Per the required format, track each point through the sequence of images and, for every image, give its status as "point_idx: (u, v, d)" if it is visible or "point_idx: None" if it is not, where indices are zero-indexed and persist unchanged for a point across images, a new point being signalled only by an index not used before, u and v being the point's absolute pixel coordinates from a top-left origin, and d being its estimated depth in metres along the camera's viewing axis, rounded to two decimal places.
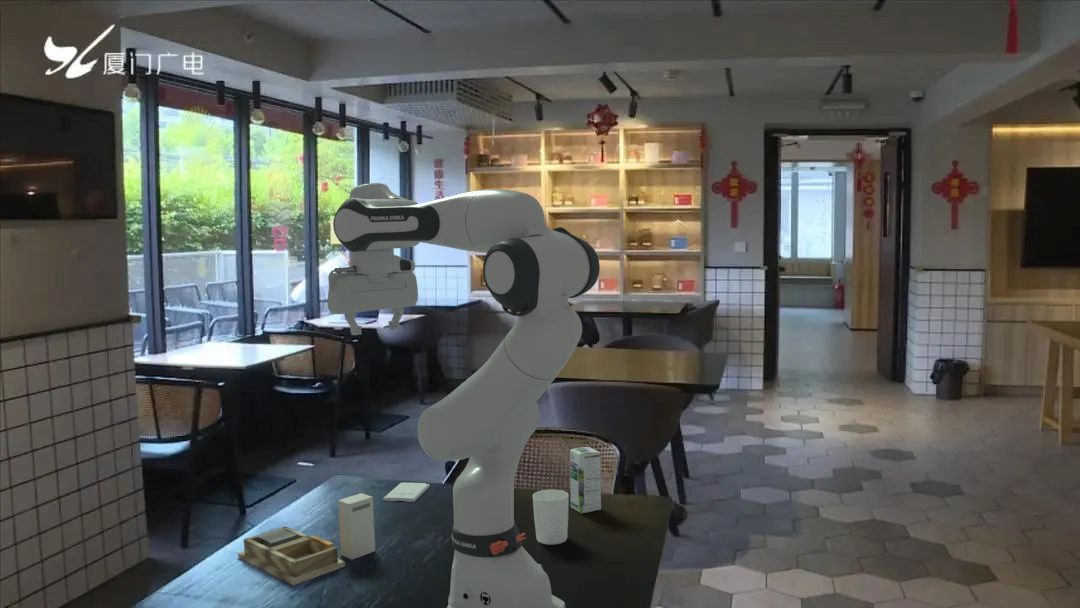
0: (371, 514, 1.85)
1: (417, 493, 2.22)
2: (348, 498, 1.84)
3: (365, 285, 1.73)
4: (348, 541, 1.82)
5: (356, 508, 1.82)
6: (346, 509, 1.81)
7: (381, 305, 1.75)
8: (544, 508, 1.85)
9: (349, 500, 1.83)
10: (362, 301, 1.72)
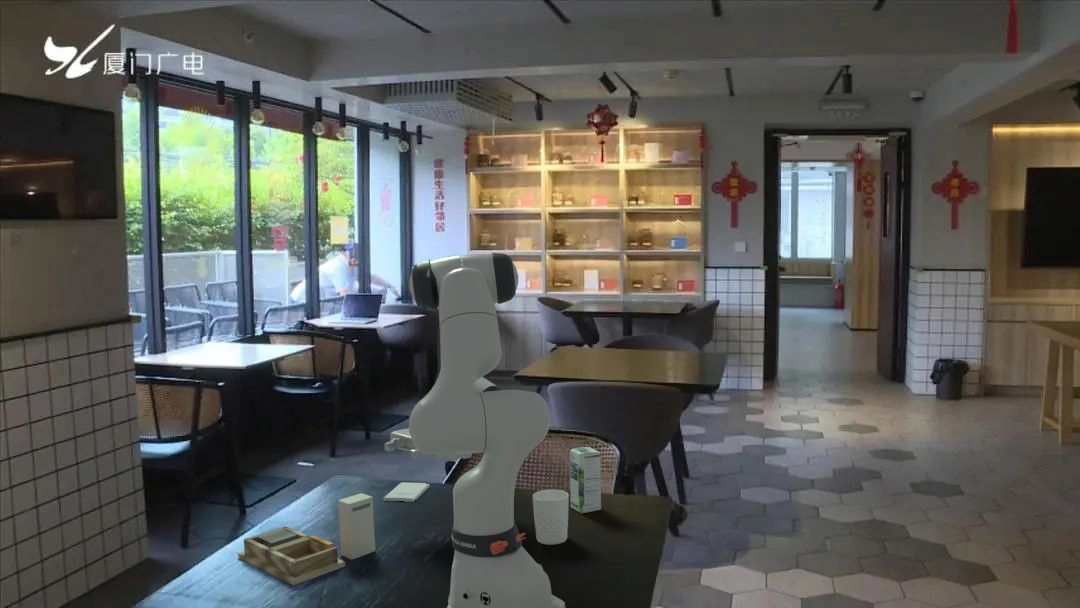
0: (371, 514, 1.85)
1: (417, 493, 2.22)
2: (348, 498, 1.84)
3: None
4: (348, 541, 1.82)
5: (356, 508, 1.82)
6: (346, 509, 1.81)
7: None
8: (544, 508, 1.85)
9: (349, 500, 1.83)
10: None
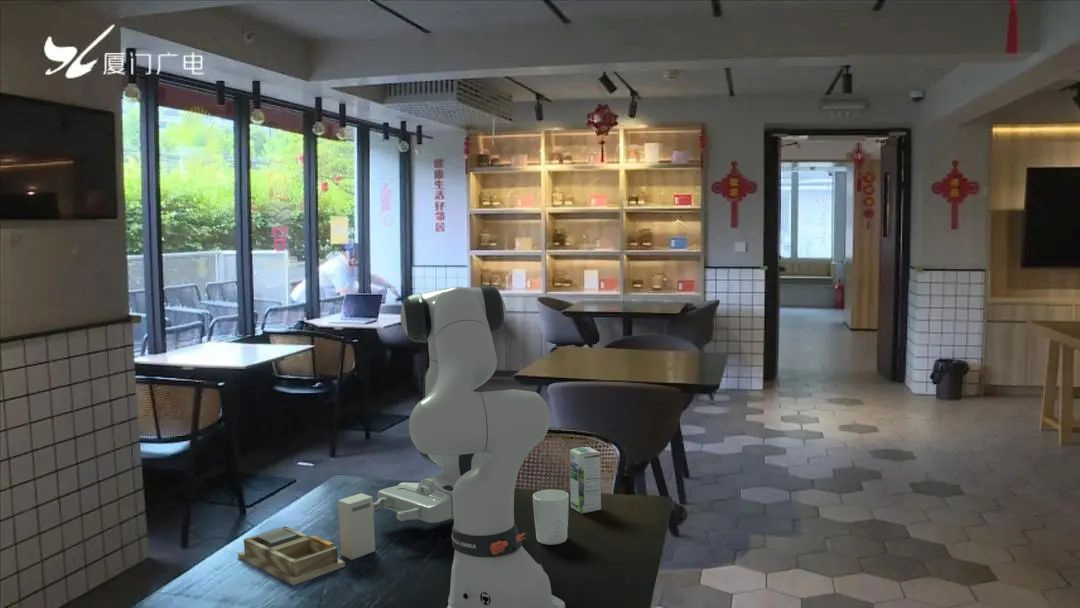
0: (371, 514, 1.85)
1: None
2: (348, 498, 1.84)
3: (411, 492, 1.99)
4: (348, 541, 1.82)
5: (356, 508, 1.82)
6: (346, 509, 1.81)
7: (406, 498, 1.93)
8: (544, 508, 1.85)
9: (349, 500, 1.83)
10: (398, 493, 1.97)
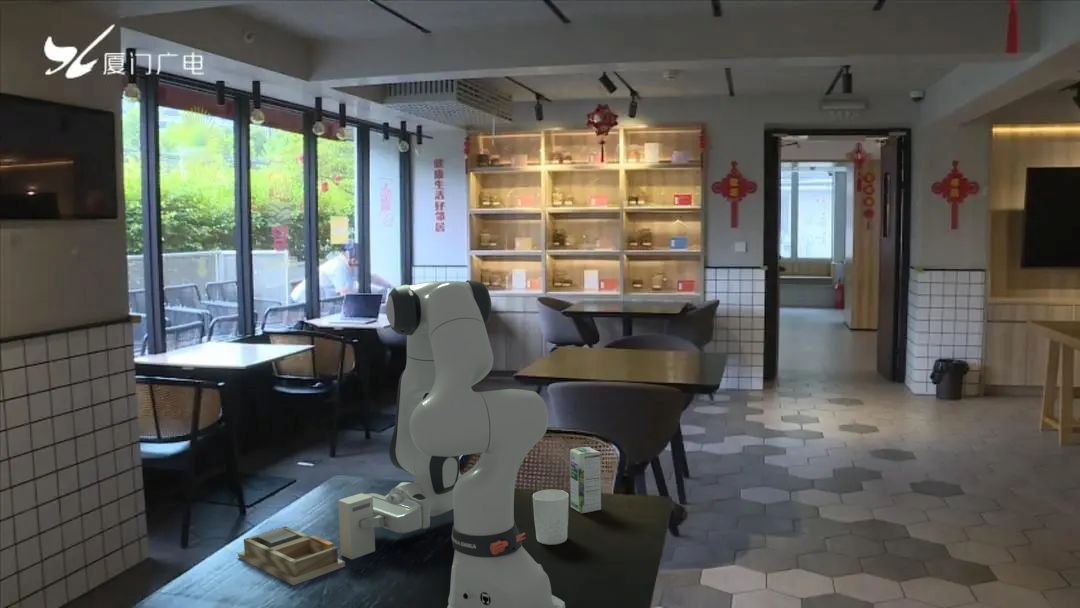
0: (371, 514, 1.85)
1: None
2: (348, 498, 1.84)
3: (381, 500, 1.93)
4: (348, 541, 1.82)
5: (356, 508, 1.82)
6: (346, 509, 1.81)
7: (375, 507, 1.87)
8: (544, 508, 1.85)
9: (349, 500, 1.83)
10: None
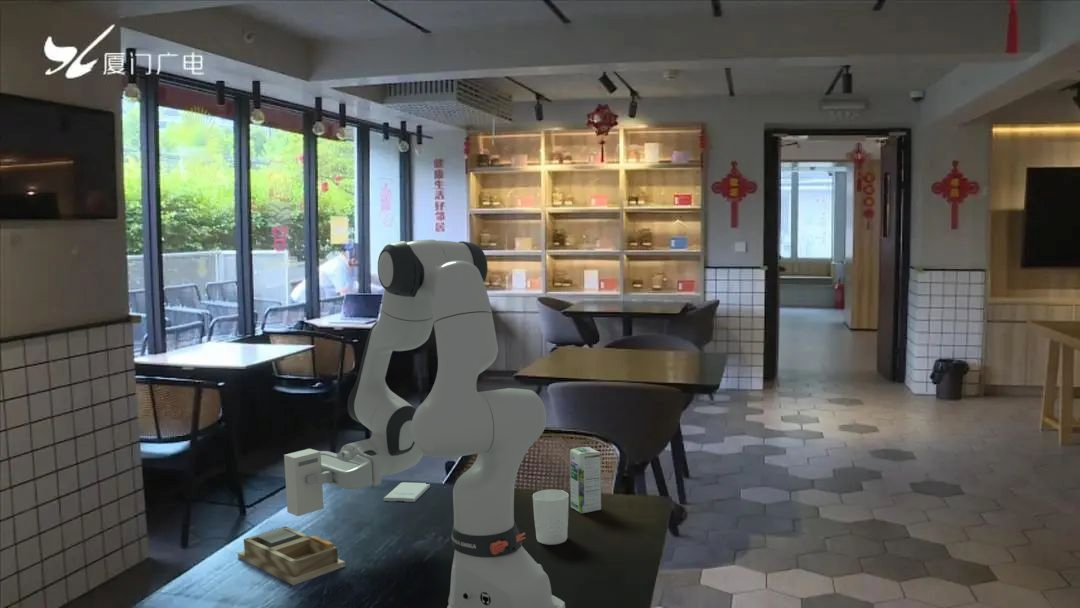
0: (319, 470, 1.77)
1: (417, 493, 2.22)
2: (295, 453, 1.76)
3: (332, 457, 1.85)
4: (294, 497, 1.74)
5: (302, 463, 1.74)
6: (292, 463, 1.73)
7: (324, 463, 1.79)
8: (544, 508, 1.85)
9: (295, 454, 1.75)
10: None
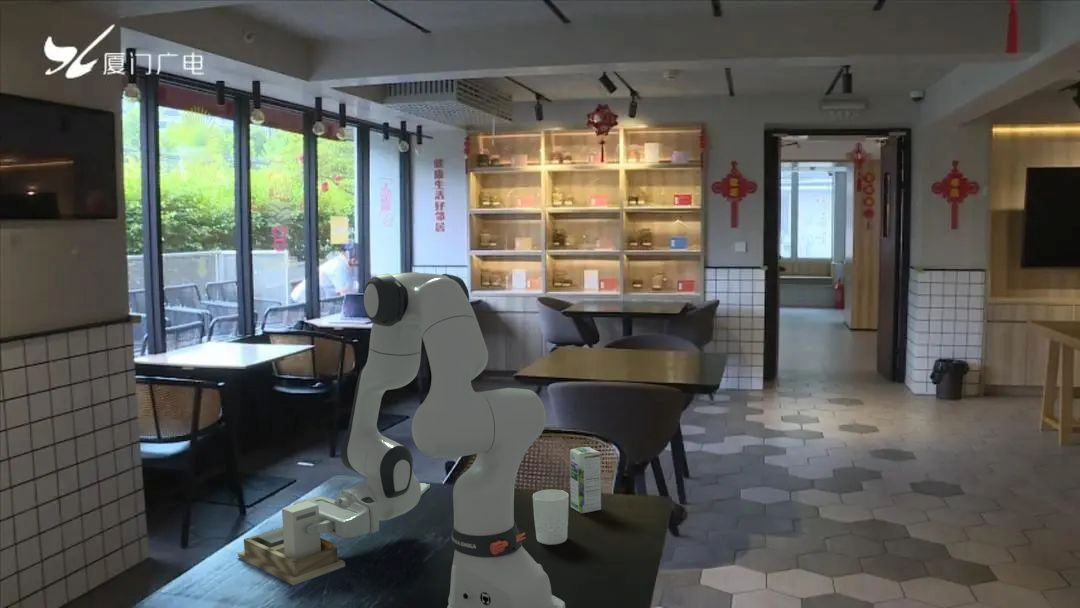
0: (316, 523, 1.77)
1: None
2: (293, 506, 1.77)
3: (330, 504, 1.85)
4: (292, 551, 1.74)
5: (300, 517, 1.74)
6: (290, 518, 1.74)
7: (321, 511, 1.80)
8: (544, 508, 1.85)
9: (293, 508, 1.75)
10: None
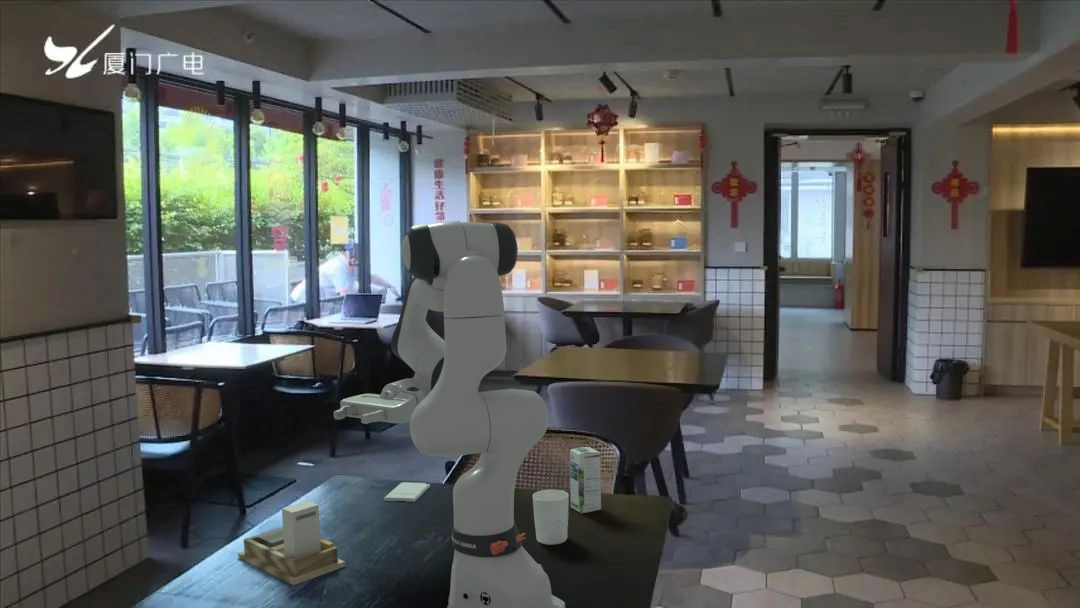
0: (316, 523, 1.77)
1: (418, 493, 2.22)
2: (293, 506, 1.77)
3: (375, 398, 1.92)
4: (292, 551, 1.74)
5: (300, 517, 1.74)
6: (290, 518, 1.74)
7: (369, 403, 1.86)
8: (544, 508, 1.85)
9: (293, 508, 1.75)
10: (361, 400, 1.90)
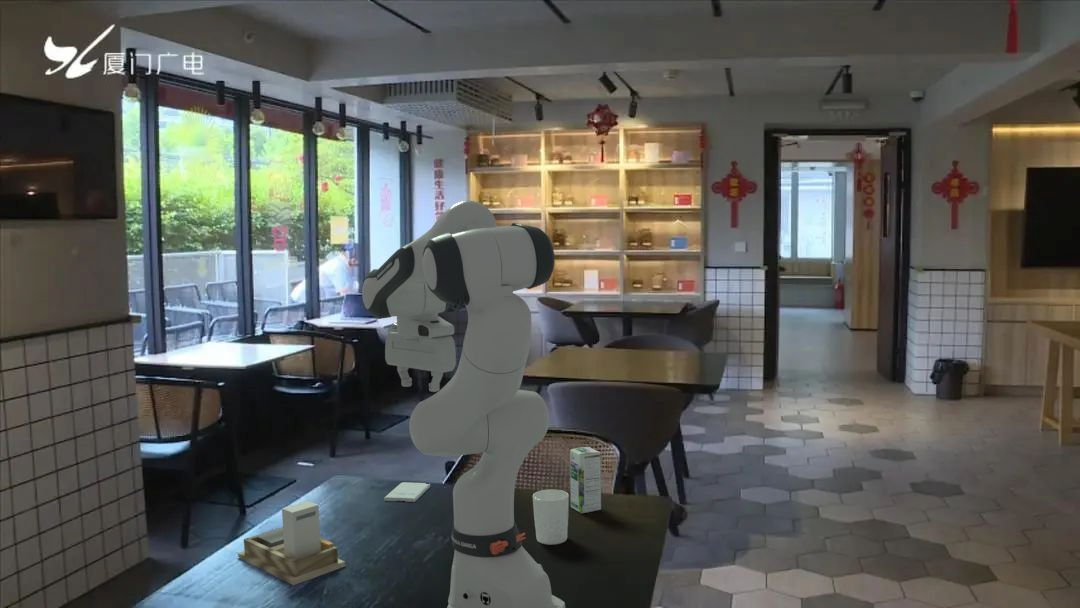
0: (316, 523, 1.77)
1: (418, 493, 2.22)
2: (293, 506, 1.77)
3: (404, 343, 1.88)
4: (292, 551, 1.74)
5: (300, 517, 1.74)
6: (290, 518, 1.74)
7: (414, 364, 1.86)
8: (544, 508, 1.85)
9: (293, 508, 1.75)
10: (400, 357, 1.89)
